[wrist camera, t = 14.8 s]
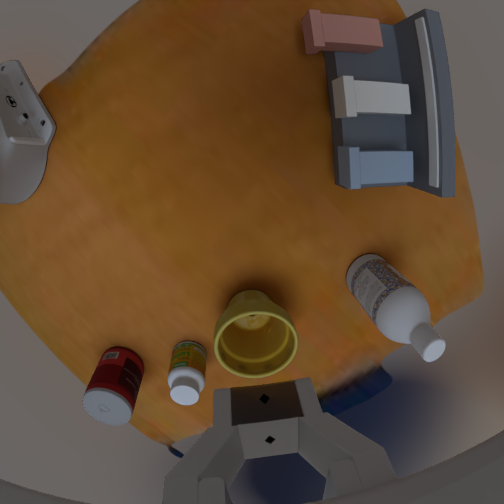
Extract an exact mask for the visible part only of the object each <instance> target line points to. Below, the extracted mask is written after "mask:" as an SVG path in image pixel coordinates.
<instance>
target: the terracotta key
mask: <svg viewBox="0 0 504 504" xmlns="http://www.w3.org/2000/svg"><path fill="white" fill-rule="evenodd" d="M301 21H302V28H303V35H304V43H305V51H306V54H317V53H318V52H319V51H339V52H355V53H367V54H369V53H371V52H373V51H376V50H378V49H380V48H382V47H383V42H382V36H381V30H380V24H379V19H373V18H365V17H357V16H347V15H336V14H322V13H321V14H320V10H310V9H309V10H308V12H307V13H306V15H305V16H304V17H303V19H302V20H301Z"/></svg>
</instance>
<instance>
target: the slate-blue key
mask: <svg viewBox="0 0 504 504" xmlns="http://www.w3.org/2000/svg"><path fill="white" fill-rule="evenodd" d="M338 163H339V184H340V185H343V186H345V187H347V188H349V189H361V184H375V183H396V182H413V151H406V150H399V149H365V150H359V147H352V146H338Z"/></svg>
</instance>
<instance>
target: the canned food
mask: <svg viewBox="0 0 504 504" xmlns="http://www.w3.org/2000/svg"><path fill="white" fill-rule="evenodd" d="M143 373H144V368H143V363H142V361H141V359H140V358H139V356H138V355H137V354H135V353H134V352H133V351H131V350H129V349H126V348H122V347H115V348H111V349H109V350H107V351H106V352H105V353H104V354H103V355H102V357H101V359H100V361H99V363H98V365H97V367H96V369H95V372H94V374H93V376H92V378H91V380H90V382H89V385H88V387H87V389H86V391H85V394H84V397H83V405H84V408H85V409H86V411H87V412H88V413H89V414H90V415H91V416H92V417H93V418H95V419H97V420H98V421H100V422H103V423H105V424H109V425H122V424H125V423H127V422H128V421H129V420H130V419H131V416H132V414H133V410H134V407H135V403H136V399H137V395H138V391H139V388H140V384H141V380H142V377H143Z"/></svg>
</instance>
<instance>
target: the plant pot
mask: <svg viewBox="0 0 504 504" xmlns="http://www.w3.org/2000/svg"><path fill="white" fill-rule="evenodd" d="M297 348H298V335H297V332H296V329H295V326H294V324H293V322H292V320H291V318H290V316H289V315H288V313H287V312H286V311H285V310H284V309H283V308H281V307H280V306H279V305H277V304H275V303H273V302H272V301H271V299H270V298H269V297H268V296H267V295H266V294H265V293H263V292H261V291H258V290H245V291H242V292H240V293H238V294H236V295H235V296H234V297H233V298H232V299H231V301H230V302H229V304H228V307H227V309H226V310H225V311H224V312H223V314H222V315H221V316H220V317H219V319H218V321H217V323H216V326H215V331H214V352H215V355H216V358H217V360H218V361H219V363H220V364H221V365H222V366H223V367H224V368H225V369H226V370H228V371H229V372H231V373H233V374H235V375H238V376H241V377H247V378H260V377H266V376H269V375H272V374H275V373H277V372H279V371H280V370H282V369H283V368H285V367H286V366H287V365H288V364H289V363H290V362H291V360H292V359H293V357H294V356H295V354H296V351H297Z"/></svg>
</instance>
